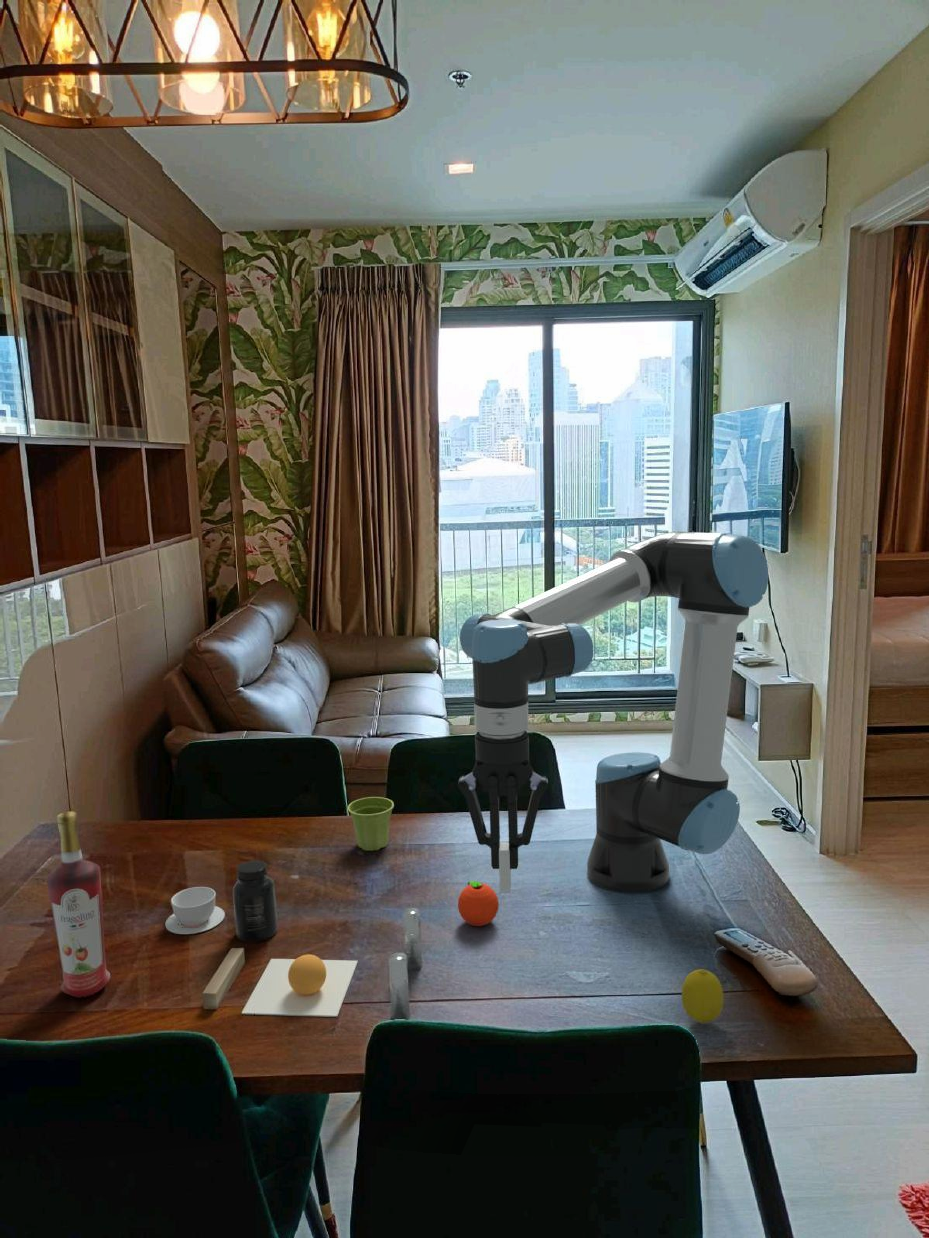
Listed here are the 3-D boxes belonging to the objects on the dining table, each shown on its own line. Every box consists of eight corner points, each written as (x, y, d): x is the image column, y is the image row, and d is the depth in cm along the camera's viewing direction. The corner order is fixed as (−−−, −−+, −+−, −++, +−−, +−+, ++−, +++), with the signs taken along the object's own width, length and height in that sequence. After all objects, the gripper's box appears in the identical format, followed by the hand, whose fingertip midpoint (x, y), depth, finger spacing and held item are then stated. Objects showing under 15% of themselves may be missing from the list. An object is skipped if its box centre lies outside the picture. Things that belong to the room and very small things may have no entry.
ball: (303, 986, 133) (336, 973, 132) (293, 1008, 127) (327, 994, 127) (287, 954, 132) (320, 941, 132) (277, 974, 127) (311, 961, 126)
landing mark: (357, 961, 138) (357, 960, 138) (337, 1016, 124) (337, 1015, 124) (271, 959, 139) (271, 958, 139) (241, 1013, 125) (241, 1012, 125)
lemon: (675, 1012, 123) (676, 960, 121) (714, 1009, 123) (715, 957, 122) (689, 1037, 117) (690, 983, 116) (729, 1034, 118) (730, 979, 116)
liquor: (59, 1008, 128) (38, 828, 123) (60, 982, 134) (40, 810, 130) (113, 995, 131) (94, 819, 126) (111, 970, 137) (93, 802, 132)
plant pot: (393, 854, 176) (391, 813, 174) (346, 855, 176) (344, 814, 174) (397, 835, 185) (395, 796, 183) (353, 836, 185) (351, 797, 184)
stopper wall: (245, 962, 138) (243, 948, 138) (217, 1008, 126) (215, 993, 126) (232, 962, 138) (231, 947, 138) (203, 1008, 127) (202, 992, 126)
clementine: (449, 915, 151) (448, 877, 150) (486, 906, 154) (485, 869, 152) (468, 937, 144) (467, 897, 142) (506, 927, 146) (505, 888, 145)
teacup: (236, 913, 154) (234, 888, 154) (197, 941, 146) (195, 915, 145) (193, 903, 159) (190, 879, 158) (152, 929, 150) (150, 904, 149)
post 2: (423, 960, 137) (420, 907, 136) (420, 970, 135) (418, 916, 133) (406, 960, 137) (404, 907, 136) (404, 969, 135) (401, 916, 133)
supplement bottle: (285, 925, 149) (280, 860, 147) (263, 946, 143) (258, 878, 141) (250, 920, 151) (245, 855, 149) (228, 940, 145) (222, 873, 143)
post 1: (410, 1010, 125) (408, 952, 123) (408, 1021, 122) (405, 963, 121) (392, 1009, 125) (390, 952, 123) (389, 1021, 122) (386, 962, 121)
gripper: (452, 739, 119) (458, 900, 123) (548, 739, 117) (551, 902, 121) (457, 723, 126) (462, 875, 130) (548, 723, 125) (550, 877, 129)
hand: (505, 888), depth 126 cm, fingers closed
